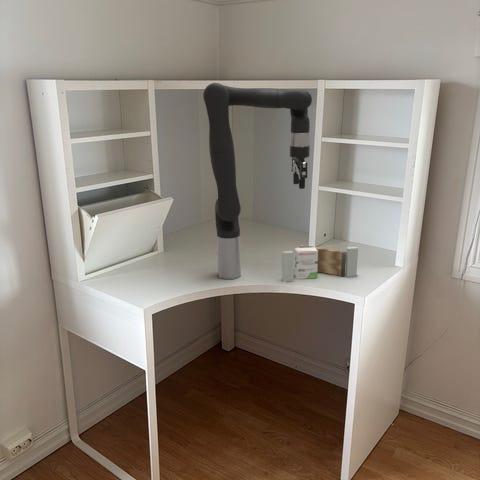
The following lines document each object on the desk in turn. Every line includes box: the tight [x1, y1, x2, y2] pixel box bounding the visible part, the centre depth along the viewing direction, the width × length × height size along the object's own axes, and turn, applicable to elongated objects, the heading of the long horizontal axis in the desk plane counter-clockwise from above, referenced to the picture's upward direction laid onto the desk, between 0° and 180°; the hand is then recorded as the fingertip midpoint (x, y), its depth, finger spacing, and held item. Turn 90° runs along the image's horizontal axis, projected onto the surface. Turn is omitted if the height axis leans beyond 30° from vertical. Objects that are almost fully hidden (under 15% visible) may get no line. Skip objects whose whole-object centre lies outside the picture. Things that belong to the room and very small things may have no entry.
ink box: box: [293, 246, 318, 280], centre depth 197 cm, size 9×5×12 cm, turn 94°
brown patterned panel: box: [299, 244, 346, 277], centre depth 201 cm, size 20×2×10 cm, turn 61°
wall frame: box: [281, 246, 359, 283], centre depth 195 cm, size 30×2×12 cm, turn 99°
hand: (298, 186), depth 192 cm, fingers open, 8 cm apart
